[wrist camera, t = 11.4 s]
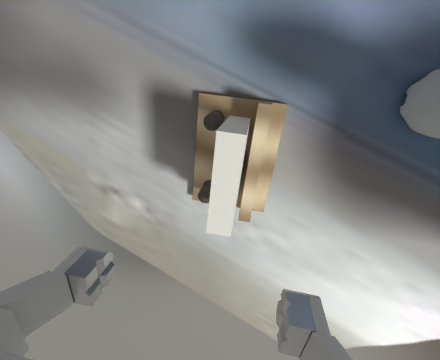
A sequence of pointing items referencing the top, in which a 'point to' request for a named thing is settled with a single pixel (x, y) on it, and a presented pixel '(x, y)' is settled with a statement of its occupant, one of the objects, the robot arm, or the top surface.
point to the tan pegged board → (254, 154)
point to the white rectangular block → (227, 174)
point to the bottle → (424, 105)
